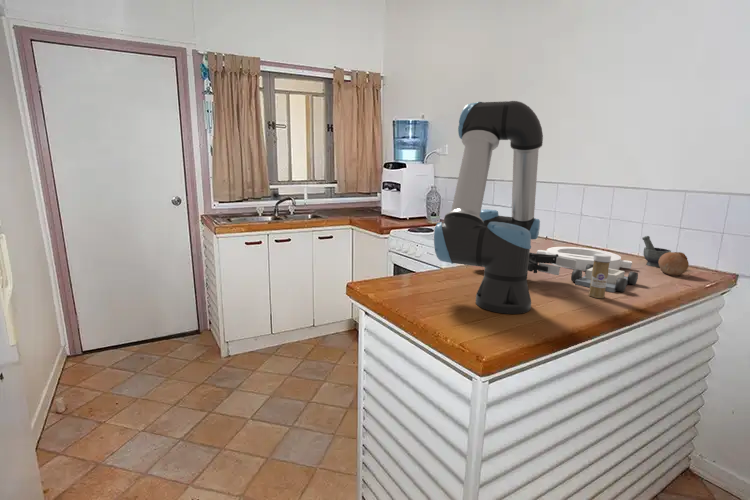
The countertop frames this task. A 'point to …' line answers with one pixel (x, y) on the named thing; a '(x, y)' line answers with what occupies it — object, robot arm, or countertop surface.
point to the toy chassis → (614, 279)
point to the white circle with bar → (585, 257)
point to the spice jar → (599, 275)
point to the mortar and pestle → (652, 252)
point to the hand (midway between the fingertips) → (567, 267)
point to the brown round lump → (673, 263)
